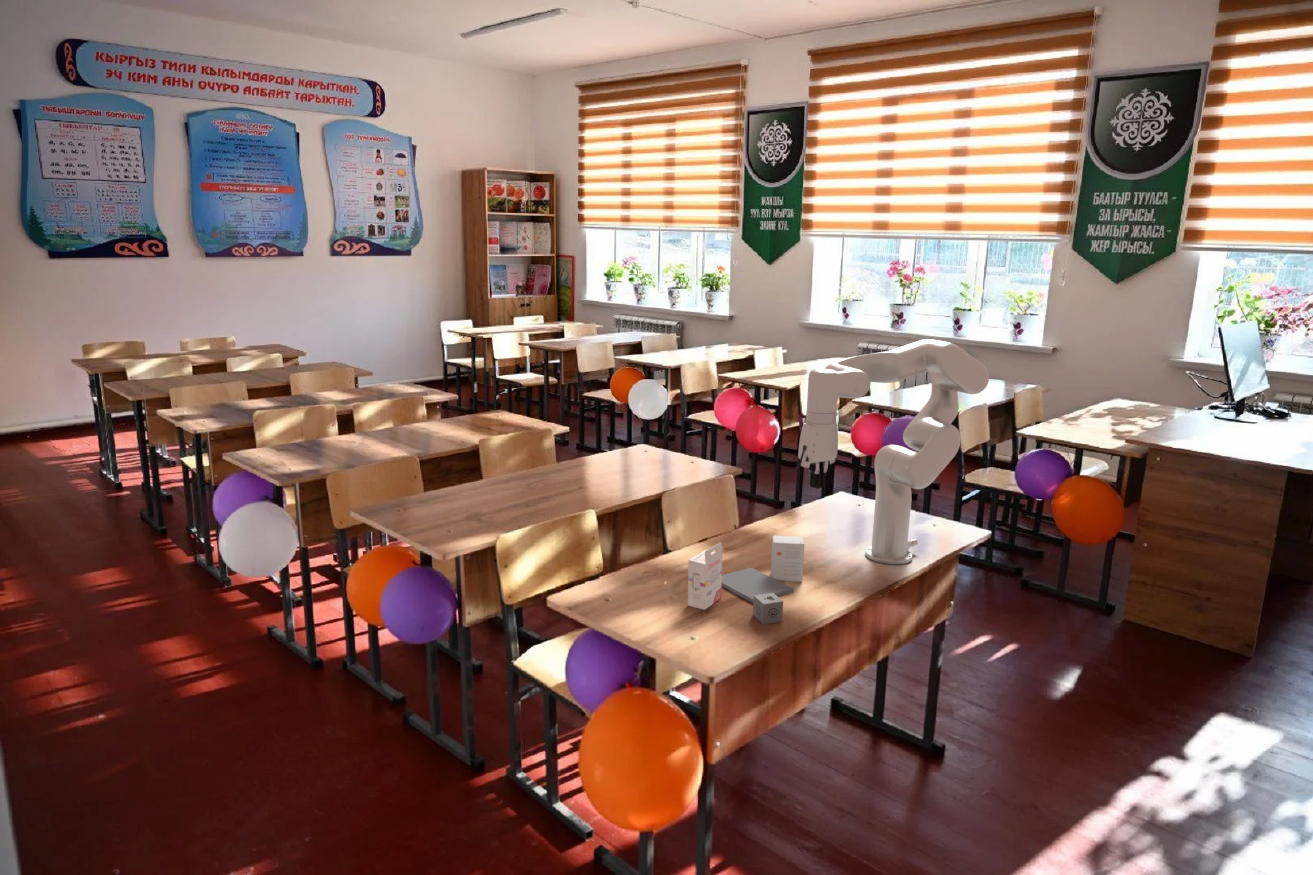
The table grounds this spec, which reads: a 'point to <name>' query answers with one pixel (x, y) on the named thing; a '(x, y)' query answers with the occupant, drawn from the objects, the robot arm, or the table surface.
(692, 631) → the table surface
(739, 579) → the mat
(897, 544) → the robot arm
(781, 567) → the small box
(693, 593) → the ink cartridge box
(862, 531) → the table surface
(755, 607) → the dice cube
